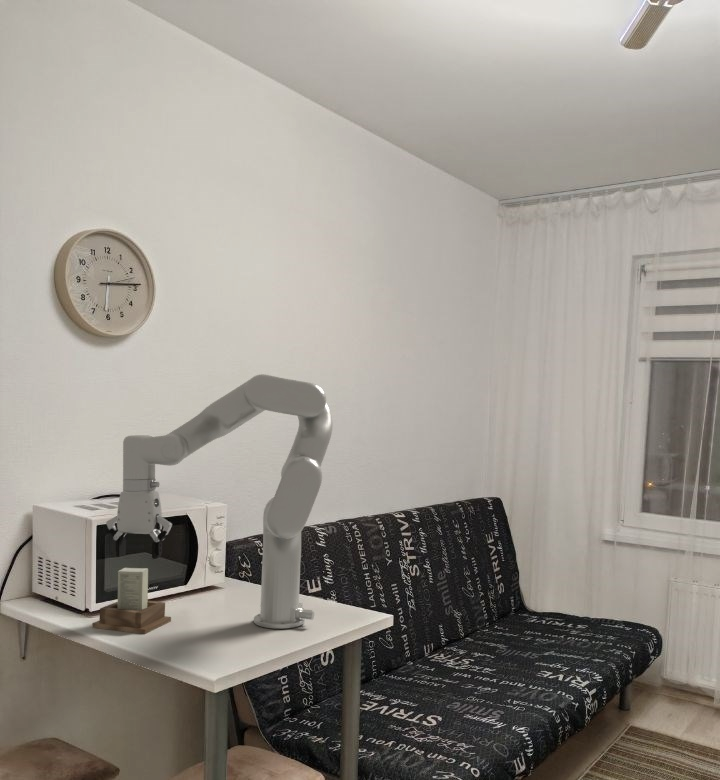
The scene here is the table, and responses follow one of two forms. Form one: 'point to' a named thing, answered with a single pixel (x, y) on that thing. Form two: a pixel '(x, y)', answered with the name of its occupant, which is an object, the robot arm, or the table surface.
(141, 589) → the skincare box
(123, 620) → the socket block
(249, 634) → the table surface
